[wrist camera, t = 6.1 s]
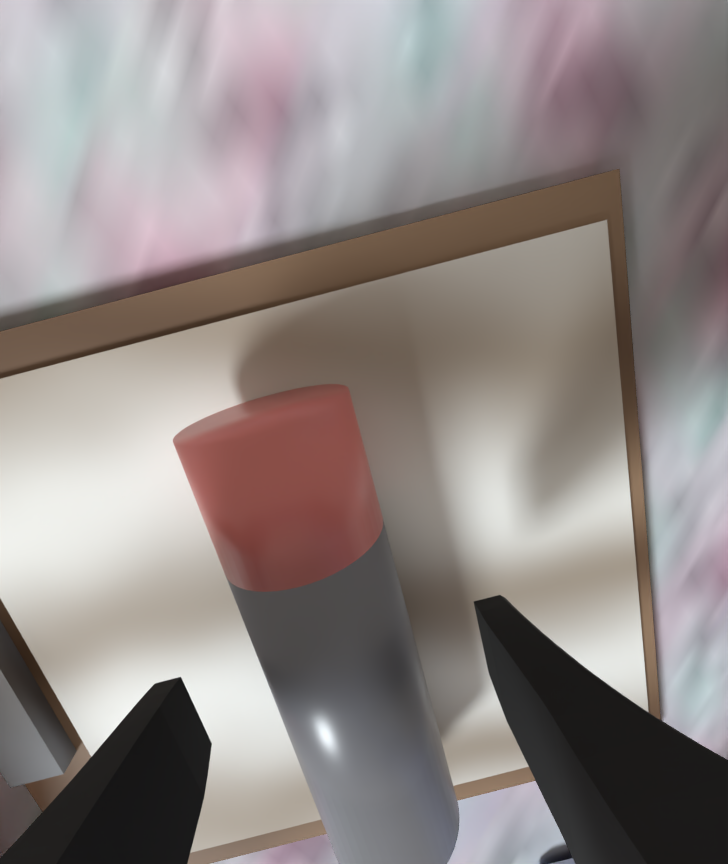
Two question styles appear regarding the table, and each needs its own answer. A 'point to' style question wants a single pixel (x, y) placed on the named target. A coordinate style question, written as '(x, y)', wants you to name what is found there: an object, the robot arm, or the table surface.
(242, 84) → the table surface
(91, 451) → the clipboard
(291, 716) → the marker
